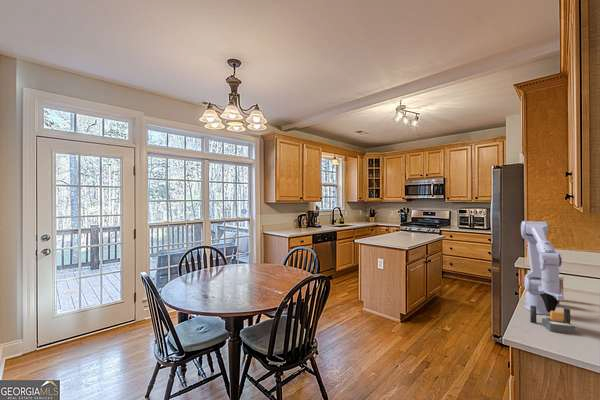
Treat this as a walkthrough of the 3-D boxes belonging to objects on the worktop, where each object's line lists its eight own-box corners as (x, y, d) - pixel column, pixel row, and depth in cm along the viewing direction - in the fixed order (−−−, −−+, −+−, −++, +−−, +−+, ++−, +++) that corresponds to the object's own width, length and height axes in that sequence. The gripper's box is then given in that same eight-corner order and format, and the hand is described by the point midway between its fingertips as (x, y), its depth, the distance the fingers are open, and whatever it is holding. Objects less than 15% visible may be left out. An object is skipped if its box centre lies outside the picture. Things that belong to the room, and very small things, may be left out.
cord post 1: (529, 321, 122) (529, 305, 122) (534, 321, 121) (534, 305, 121) (531, 322, 120) (531, 306, 120) (537, 323, 119) (537, 307, 119)
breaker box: (542, 325, 118) (542, 315, 118) (565, 327, 115) (565, 318, 115) (550, 331, 112) (550, 321, 112) (574, 334, 110) (574, 324, 110)
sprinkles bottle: (566, 301, 148) (565, 276, 148) (556, 301, 148) (556, 276, 149) (559, 298, 152) (559, 274, 152) (550, 298, 153) (549, 274, 153)
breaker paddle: (549, 318, 116) (550, 310, 115) (561, 319, 114) (562, 311, 114) (551, 320, 114) (552, 312, 114) (563, 321, 113) (564, 313, 113)
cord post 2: (562, 324, 118) (562, 308, 118) (568, 325, 118) (568, 308, 118) (565, 326, 116) (565, 310, 117) (571, 327, 116) (571, 310, 116)
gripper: (530, 275, 127) (530, 305, 127) (548, 284, 113) (549, 317, 113) (548, 276, 125) (549, 306, 125) (570, 285, 111) (570, 319, 111)
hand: (550, 311), depth 119 cm, fingers closed
